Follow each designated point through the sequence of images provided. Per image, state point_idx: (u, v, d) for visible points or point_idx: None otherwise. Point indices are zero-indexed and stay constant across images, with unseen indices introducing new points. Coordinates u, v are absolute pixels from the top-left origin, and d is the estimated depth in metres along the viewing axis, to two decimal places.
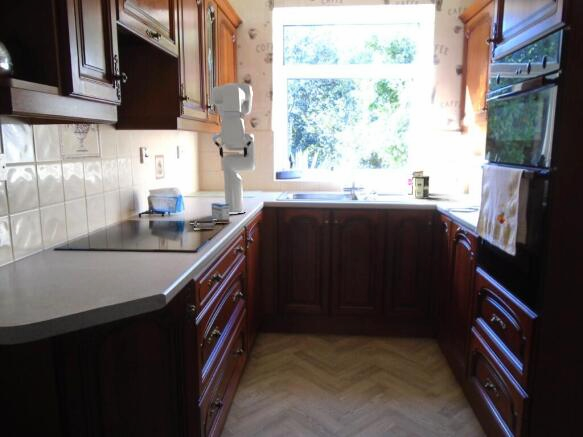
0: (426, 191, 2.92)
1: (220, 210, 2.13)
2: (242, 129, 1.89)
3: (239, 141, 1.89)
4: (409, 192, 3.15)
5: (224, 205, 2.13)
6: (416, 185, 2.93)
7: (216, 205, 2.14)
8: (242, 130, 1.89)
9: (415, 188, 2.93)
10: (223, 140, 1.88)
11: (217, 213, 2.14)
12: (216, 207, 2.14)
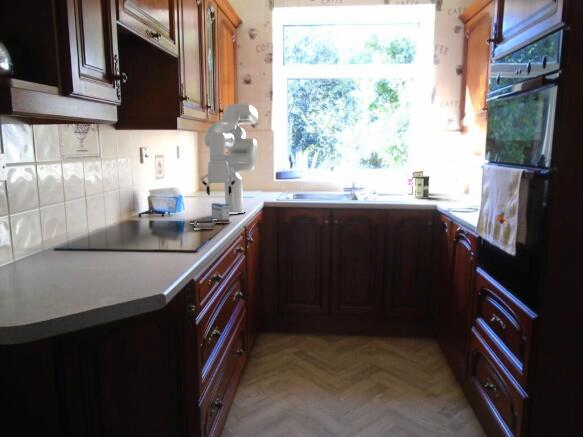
0: (426, 191, 2.92)
1: (220, 210, 2.13)
2: (227, 170, 2.11)
3: (224, 181, 2.12)
4: (409, 192, 3.15)
5: (224, 205, 2.13)
6: (416, 185, 2.93)
7: (216, 205, 2.14)
8: (227, 171, 2.11)
9: (415, 188, 2.93)
10: (210, 180, 2.11)
11: (217, 213, 2.14)
12: (216, 207, 2.14)
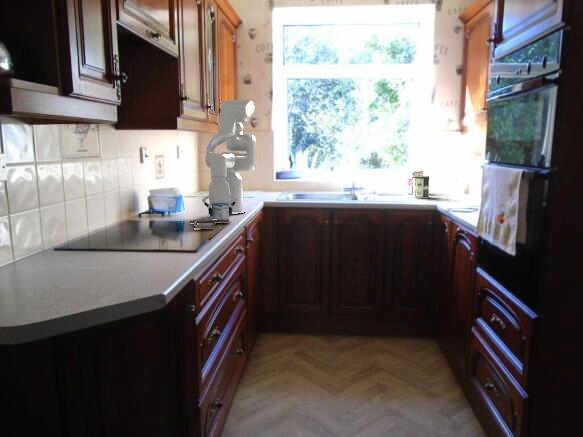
0: (426, 191, 2.92)
1: (220, 210, 2.13)
2: (228, 191, 2.13)
3: (225, 202, 2.14)
4: (409, 192, 3.15)
5: (224, 205, 2.13)
6: (416, 185, 2.93)
7: (216, 205, 2.14)
8: (228, 192, 2.13)
9: (415, 188, 2.93)
10: (211, 201, 2.13)
11: (217, 213, 2.14)
12: (216, 207, 2.14)
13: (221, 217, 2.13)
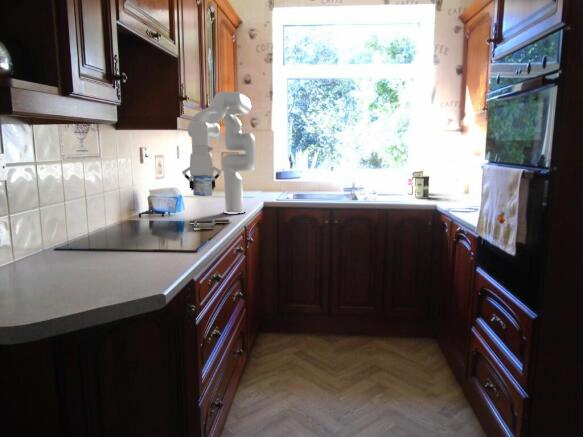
0: (426, 191, 2.92)
1: (202, 183, 1.95)
2: (210, 162, 1.95)
3: (208, 174, 1.96)
4: (409, 192, 3.15)
5: (206, 177, 1.95)
6: (416, 185, 2.93)
7: (198, 177, 1.96)
8: (210, 163, 1.95)
9: (415, 188, 2.93)
10: (192, 173, 1.95)
11: (199, 186, 1.96)
12: (198, 180, 1.96)
13: (203, 190, 1.95)
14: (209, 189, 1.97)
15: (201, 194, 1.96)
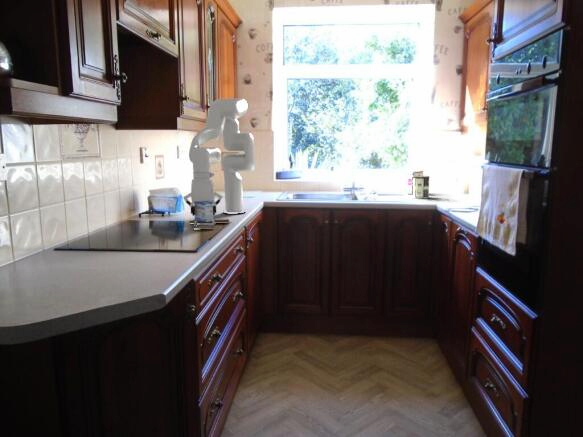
0: (426, 191, 2.92)
1: (203, 209, 1.97)
2: (211, 188, 1.97)
3: (209, 200, 1.98)
4: (409, 192, 3.15)
5: (207, 203, 1.97)
6: (416, 185, 2.93)
7: (199, 203, 1.98)
8: (211, 189, 1.97)
9: (415, 188, 2.93)
10: (193, 199, 1.97)
11: (200, 212, 1.98)
12: (199, 206, 1.98)
13: (204, 216, 1.97)
14: (210, 215, 1.98)
15: (202, 220, 1.98)
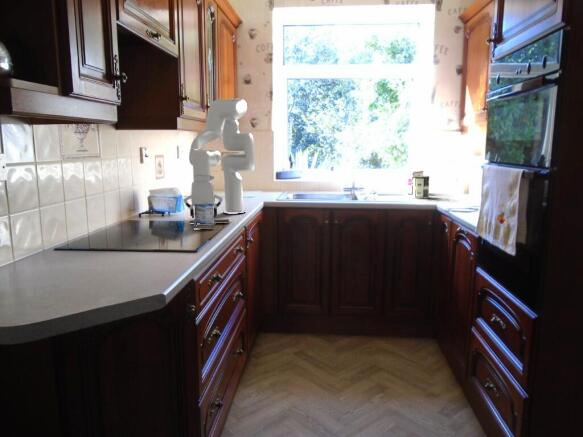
0: (426, 191, 2.92)
1: (204, 211, 1.97)
2: (212, 191, 1.97)
3: (209, 202, 1.98)
4: (409, 192, 3.15)
5: (208, 205, 1.97)
6: (416, 185, 2.93)
7: (199, 205, 1.98)
8: (212, 192, 1.97)
9: (415, 188, 2.93)
10: (193, 202, 1.97)
11: (200, 214, 1.98)
12: (199, 208, 1.98)
13: (204, 218, 1.97)
14: (210, 217, 1.99)
15: (202, 222, 1.98)
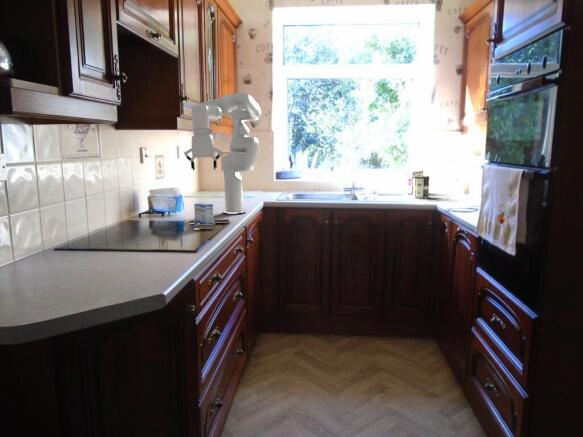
0: (426, 191, 2.92)
1: (203, 211, 1.97)
2: (211, 144, 2.06)
3: (209, 155, 2.07)
4: (409, 192, 3.15)
5: (207, 206, 1.97)
6: (416, 185, 2.93)
7: (199, 205, 1.98)
8: (211, 145, 2.07)
9: (415, 188, 2.93)
10: (194, 155, 2.06)
11: (200, 214, 1.98)
12: (199, 208, 1.98)
13: (204, 219, 1.97)
14: (210, 217, 1.99)
15: (202, 222, 1.98)
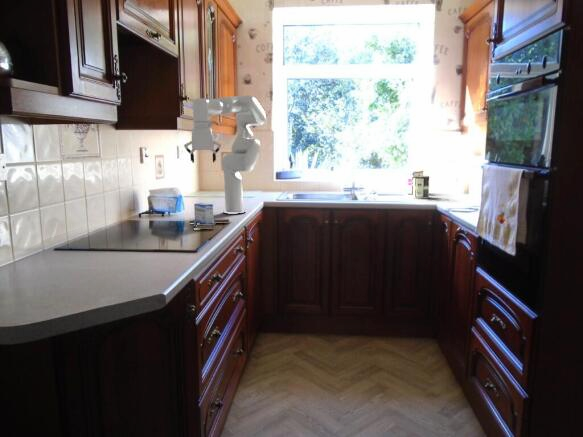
0: (426, 191, 2.92)
1: (203, 211, 1.97)
2: (211, 137, 2.10)
3: (208, 148, 2.11)
4: (409, 192, 3.15)
5: (207, 206, 1.97)
6: (416, 185, 2.93)
7: (199, 205, 1.98)
8: (211, 138, 2.10)
9: (415, 188, 2.93)
10: (193, 147, 2.10)
11: (200, 214, 1.98)
12: (199, 208, 1.98)
13: (204, 219, 1.97)
14: (210, 217, 1.99)
15: (202, 222, 1.98)
